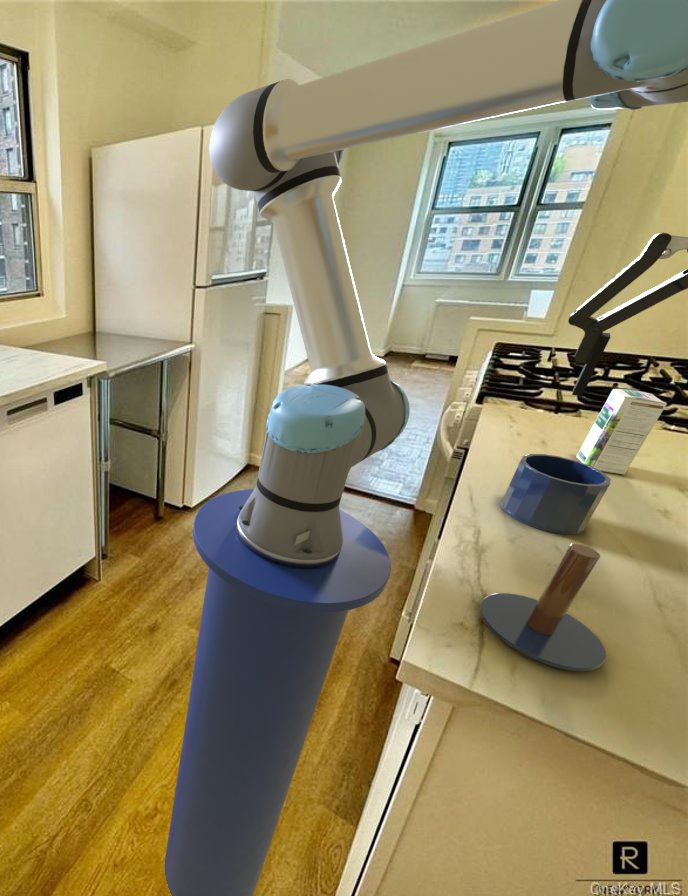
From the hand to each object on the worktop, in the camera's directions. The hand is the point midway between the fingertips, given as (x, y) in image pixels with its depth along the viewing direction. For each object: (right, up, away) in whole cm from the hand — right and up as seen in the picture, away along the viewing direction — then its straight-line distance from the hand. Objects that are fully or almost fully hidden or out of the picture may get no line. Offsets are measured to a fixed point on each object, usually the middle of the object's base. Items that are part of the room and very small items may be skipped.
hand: (665, 408), depth 50 cm
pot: (+13, -15, +28) cm, 34 cm away
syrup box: (+39, -7, +43) cm, 58 cm away
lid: (-8, -25, +6) cm, 27 cm away
